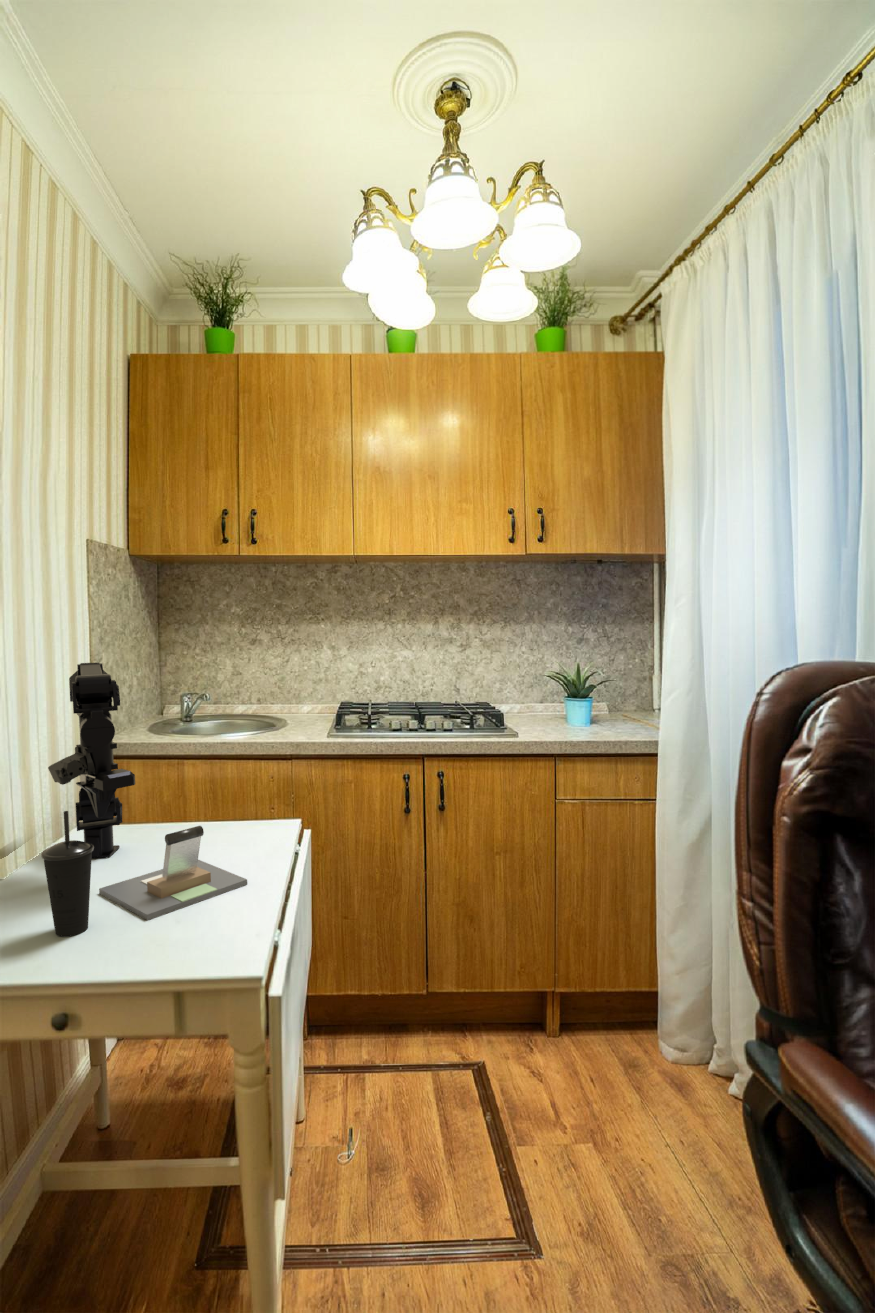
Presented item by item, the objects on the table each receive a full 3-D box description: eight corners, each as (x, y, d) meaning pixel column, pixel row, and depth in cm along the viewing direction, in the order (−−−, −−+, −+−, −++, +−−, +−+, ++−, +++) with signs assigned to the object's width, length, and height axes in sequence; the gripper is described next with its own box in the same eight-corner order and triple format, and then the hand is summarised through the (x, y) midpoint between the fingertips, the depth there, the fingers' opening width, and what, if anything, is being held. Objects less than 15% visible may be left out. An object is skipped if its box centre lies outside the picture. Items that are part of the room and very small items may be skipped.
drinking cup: (57, 921, 121) (52, 805, 120) (104, 919, 122) (99, 804, 121) (36, 942, 114) (30, 819, 112) (86, 939, 114) (80, 817, 113)
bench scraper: (160, 876, 131) (165, 832, 129) (192, 866, 136) (198, 823, 134) (165, 881, 130) (171, 837, 128) (198, 871, 135) (204, 828, 133)
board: (99, 893, 133) (98, 879, 133) (196, 863, 148) (196, 850, 148) (147, 920, 121) (146, 904, 121) (247, 884, 136) (246, 870, 136)
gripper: (33, 740, 139) (37, 818, 140) (74, 751, 127) (78, 837, 128) (91, 731, 148) (94, 805, 149) (134, 742, 136) (138, 822, 137)
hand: (100, 817), depth 141 cm, fingers closed
